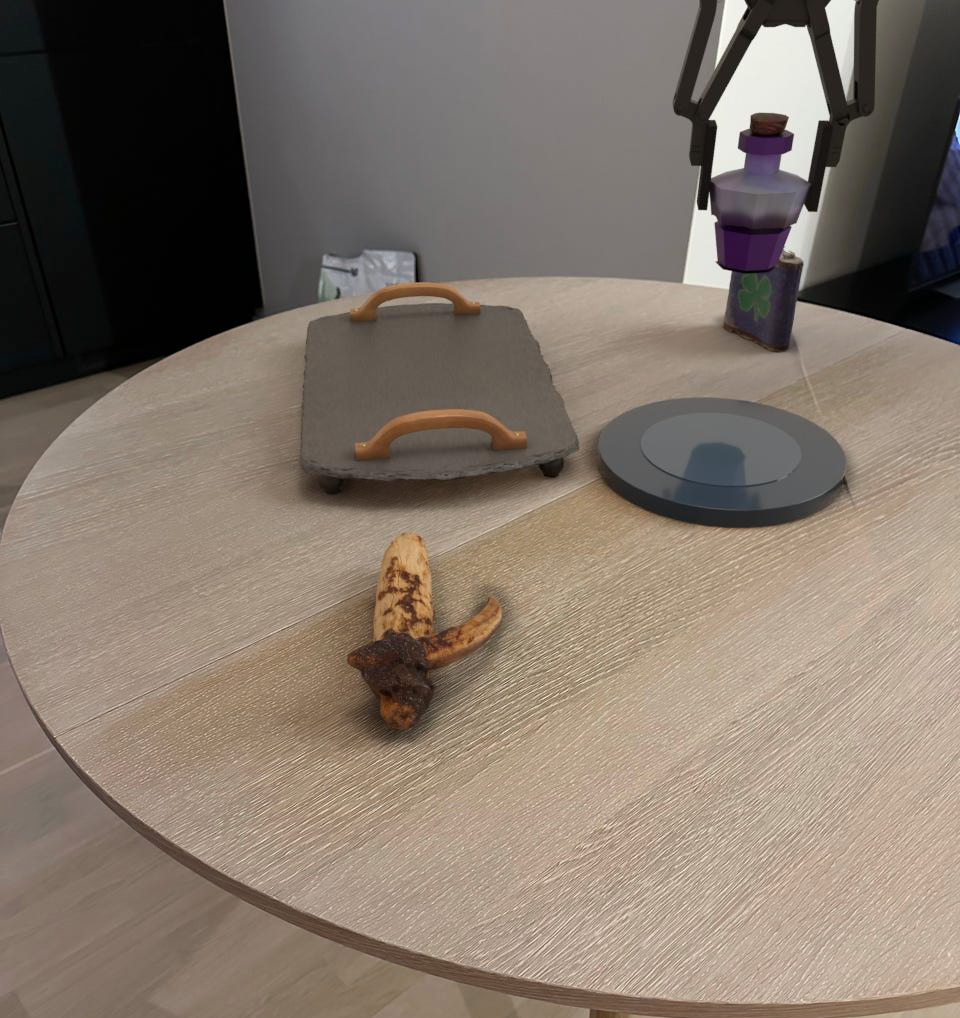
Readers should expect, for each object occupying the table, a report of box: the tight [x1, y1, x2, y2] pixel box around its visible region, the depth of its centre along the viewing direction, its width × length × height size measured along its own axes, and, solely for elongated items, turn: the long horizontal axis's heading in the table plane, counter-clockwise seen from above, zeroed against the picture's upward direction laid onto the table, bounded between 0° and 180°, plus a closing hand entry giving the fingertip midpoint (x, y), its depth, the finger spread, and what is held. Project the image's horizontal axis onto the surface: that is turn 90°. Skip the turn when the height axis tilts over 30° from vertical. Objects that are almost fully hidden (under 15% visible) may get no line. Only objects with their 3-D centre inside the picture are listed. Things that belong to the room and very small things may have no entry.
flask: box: [723, 245, 805, 353], centre depth 99 cm, size 9×3×11 cm, turn 28°
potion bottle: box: [709, 112, 812, 274], centre depth 83 cm, size 9×9×12 cm
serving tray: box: [299, 281, 580, 496], centre depth 89 cm, size 39×23×6 cm, turn 7°
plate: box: [596, 396, 847, 529], centre depth 80 cm, size 20×20×2 cm
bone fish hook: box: [346, 532, 504, 730], centre depth 61 cm, size 9×5×18 cm
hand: (755, 206), depth 84 cm, fingers closed on potion bottle, 8 cm apart
